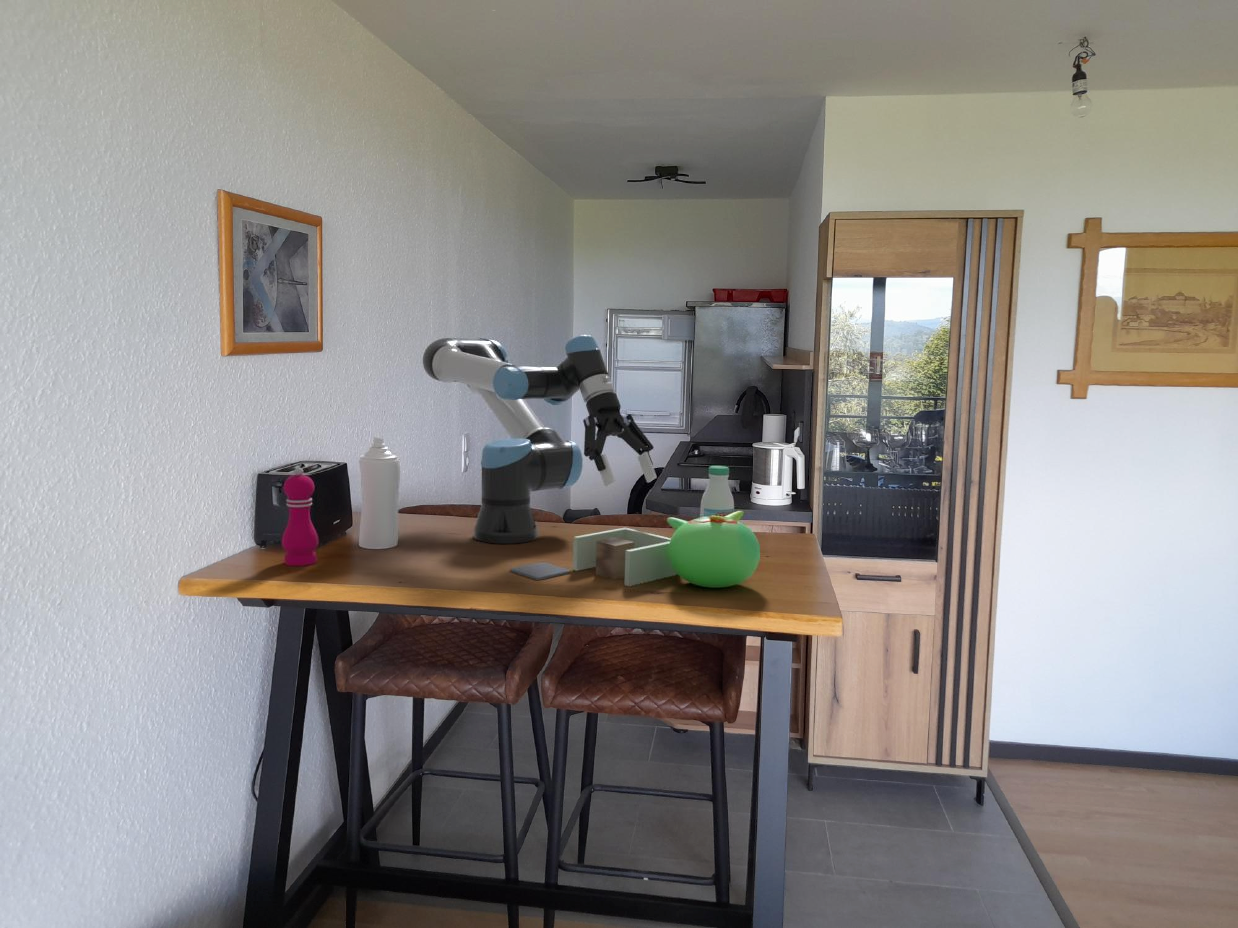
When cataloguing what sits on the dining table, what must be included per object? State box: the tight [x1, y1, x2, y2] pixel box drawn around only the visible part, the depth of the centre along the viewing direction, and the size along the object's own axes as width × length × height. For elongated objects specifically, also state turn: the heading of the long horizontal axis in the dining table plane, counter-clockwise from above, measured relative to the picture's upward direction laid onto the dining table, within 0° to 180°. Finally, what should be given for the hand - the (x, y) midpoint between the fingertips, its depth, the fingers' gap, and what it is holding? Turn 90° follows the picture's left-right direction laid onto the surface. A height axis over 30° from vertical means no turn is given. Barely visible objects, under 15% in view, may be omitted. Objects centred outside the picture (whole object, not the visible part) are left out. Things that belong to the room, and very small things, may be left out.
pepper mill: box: [281, 467, 320, 567], centre depth 182 cm, size 7×7×20 cm
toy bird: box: [666, 510, 761, 589], centre depth 175 cm, size 18×17×15 cm
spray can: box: [358, 437, 401, 550], centre depth 198 cm, size 12×11×25 cm
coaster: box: [509, 561, 573, 581], centre depth 182 cm, size 9×9×1 cm
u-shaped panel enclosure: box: [572, 527, 678, 587], centre depth 183 cm, size 15×16×7 cm
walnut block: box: [595, 537, 634, 581], centre depth 181 cm, size 6×6×7 cm
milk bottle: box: [699, 465, 735, 517], centre depth 201 cm, size 8×8×20 cm
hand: (631, 481), depth 198 cm, fingers open, 13 cm apart
